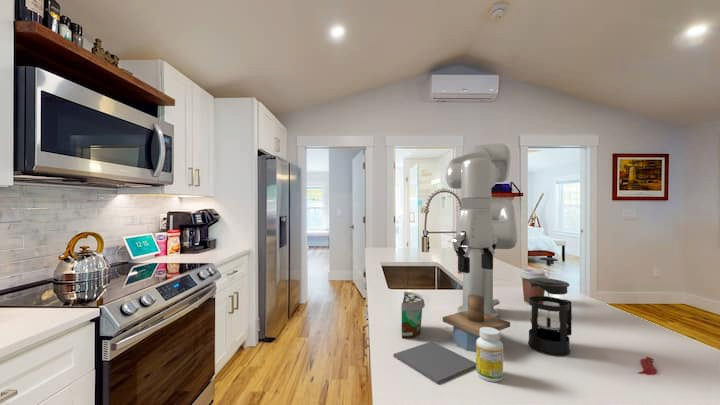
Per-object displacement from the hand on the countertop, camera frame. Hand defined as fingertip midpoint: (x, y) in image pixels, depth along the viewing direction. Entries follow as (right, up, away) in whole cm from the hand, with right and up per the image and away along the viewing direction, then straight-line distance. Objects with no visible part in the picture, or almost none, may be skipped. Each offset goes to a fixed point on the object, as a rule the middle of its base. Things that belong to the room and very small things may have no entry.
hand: (475, 270), depth 83 cm
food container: (-15, -19, +7) cm, 26 cm away
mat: (-13, -19, -10) cm, 25 cm away
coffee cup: (+35, -20, +35) cm, 53 cm away
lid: (0, -14, 0) cm, 14 cm away
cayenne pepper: (+35, -20, -12) cm, 42 cm away
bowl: (0, -19, 0) cm, 19 cm away
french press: (+18, -20, -2) cm, 27 cm away
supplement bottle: (-3, -19, -16) cm, 25 cm away
